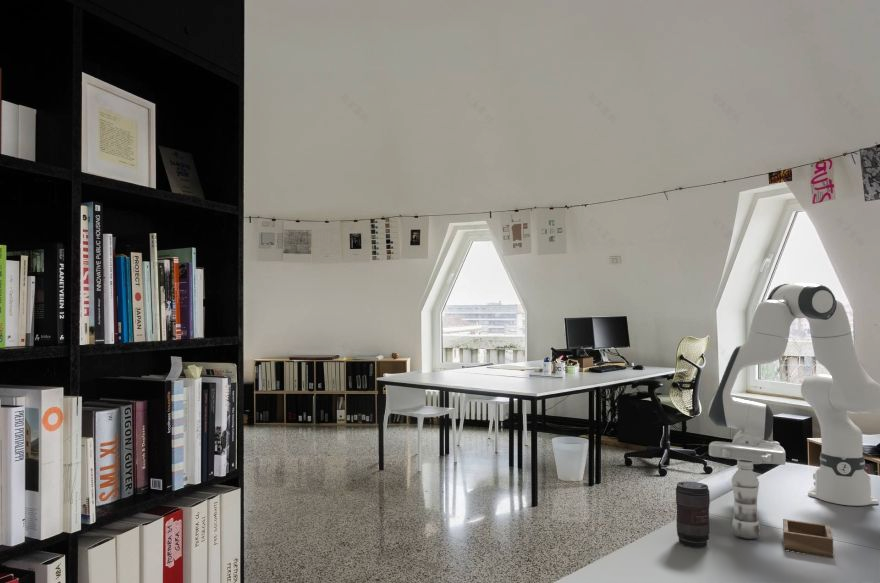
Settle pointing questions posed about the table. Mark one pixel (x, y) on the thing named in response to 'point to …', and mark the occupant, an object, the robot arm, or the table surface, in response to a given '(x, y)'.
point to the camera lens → (692, 514)
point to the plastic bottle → (745, 501)
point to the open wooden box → (807, 538)
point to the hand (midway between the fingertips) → (745, 457)
